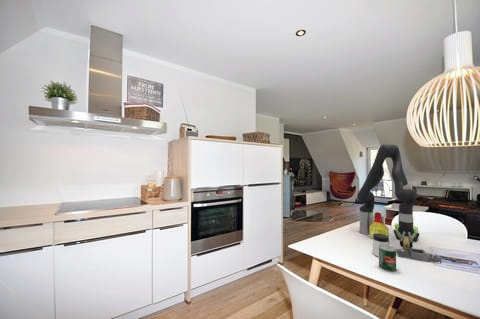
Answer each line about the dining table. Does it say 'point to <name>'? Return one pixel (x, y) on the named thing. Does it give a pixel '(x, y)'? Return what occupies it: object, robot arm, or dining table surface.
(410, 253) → the bolt keeper plate
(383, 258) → the canned tomato
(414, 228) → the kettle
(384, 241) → the jar
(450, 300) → the dining table surface
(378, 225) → the bottle
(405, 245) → the pin
